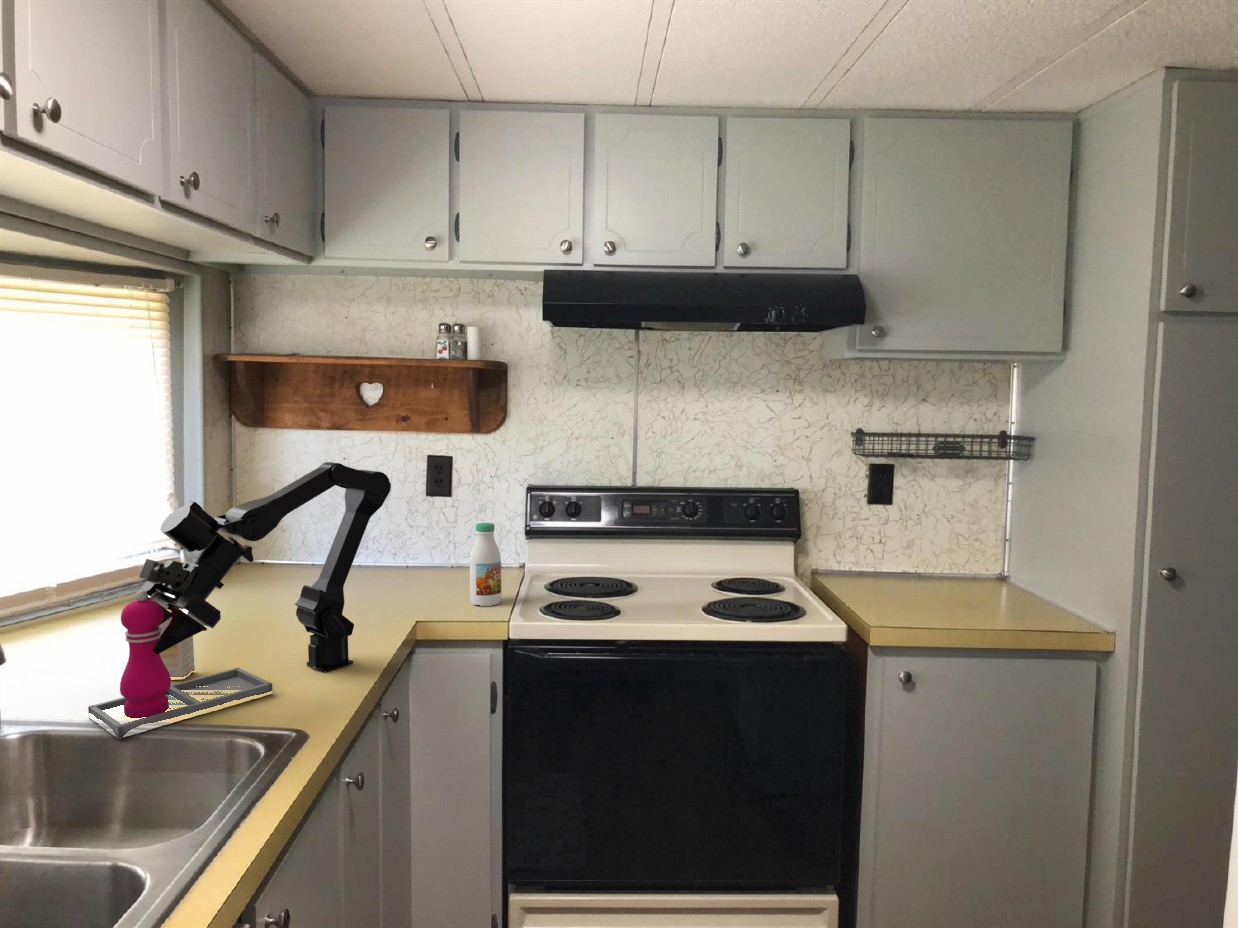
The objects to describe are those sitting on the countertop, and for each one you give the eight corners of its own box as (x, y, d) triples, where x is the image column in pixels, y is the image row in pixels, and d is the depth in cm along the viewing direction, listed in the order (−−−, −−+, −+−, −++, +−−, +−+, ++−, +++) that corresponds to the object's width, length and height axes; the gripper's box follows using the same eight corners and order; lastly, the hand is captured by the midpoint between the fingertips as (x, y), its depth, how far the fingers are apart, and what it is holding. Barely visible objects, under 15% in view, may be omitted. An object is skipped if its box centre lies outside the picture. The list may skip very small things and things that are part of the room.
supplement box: (196, 672, 155) (193, 604, 154) (183, 681, 150) (180, 611, 149) (151, 672, 155) (148, 604, 153) (137, 681, 150) (133, 611, 149)
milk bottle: (465, 606, 202) (464, 525, 200) (477, 598, 210) (476, 520, 208) (494, 608, 200) (493, 527, 198) (506, 600, 208) (505, 522, 206)
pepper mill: (181, 708, 135) (176, 589, 133) (136, 723, 129) (130, 598, 127) (156, 699, 139) (151, 583, 137) (112, 713, 133) (105, 592, 131)
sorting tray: (238, 678, 152) (238, 667, 152) (272, 694, 144) (272, 683, 144) (88, 718, 133) (88, 706, 133) (118, 740, 125) (117, 727, 125)
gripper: (149, 533, 141) (80, 609, 134) (197, 547, 129) (124, 631, 122) (198, 570, 148) (135, 645, 141) (248, 586, 136) (182, 669, 129)
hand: (142, 646), depth 133 cm, fingers open, 9 cm apart
